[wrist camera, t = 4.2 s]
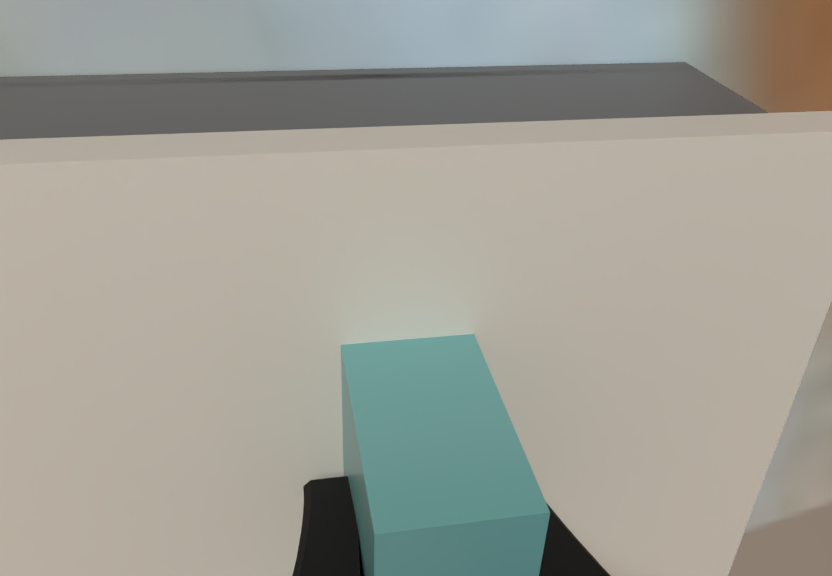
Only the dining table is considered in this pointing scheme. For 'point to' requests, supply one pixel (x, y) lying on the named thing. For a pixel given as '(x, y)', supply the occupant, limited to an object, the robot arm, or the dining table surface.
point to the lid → (405, 340)
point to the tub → (354, 98)
